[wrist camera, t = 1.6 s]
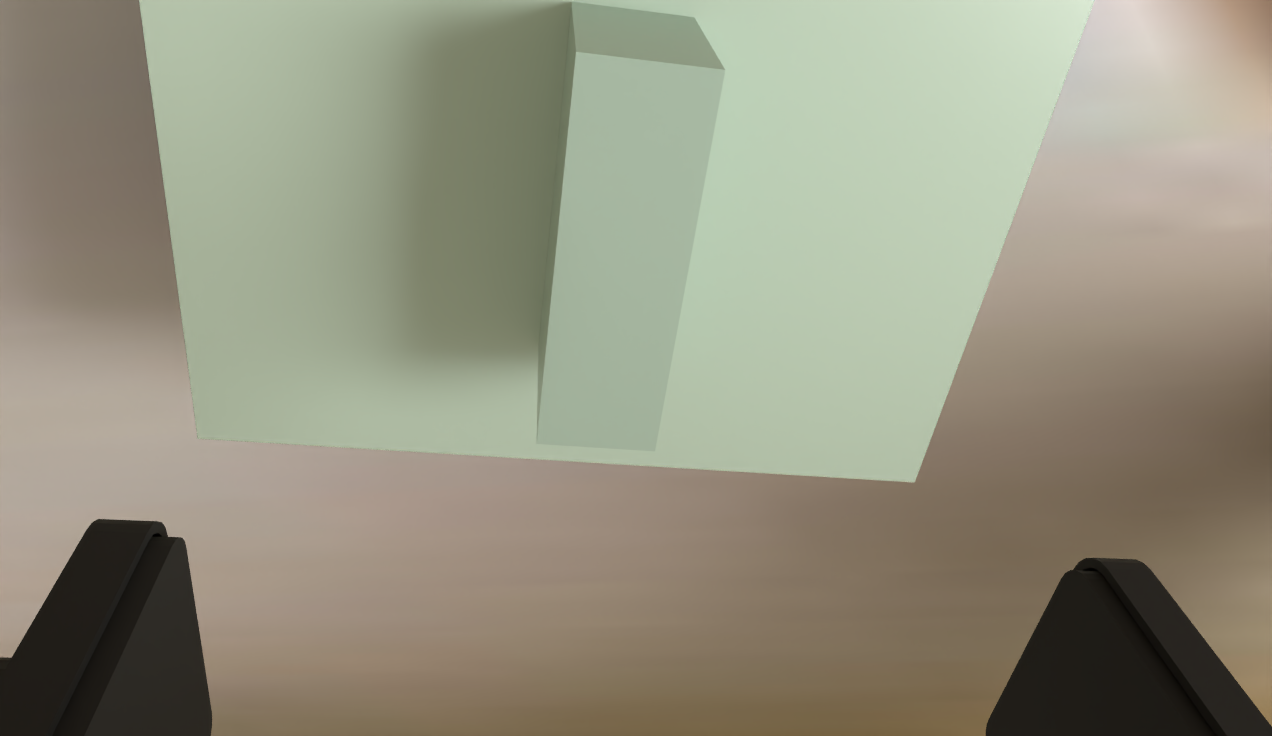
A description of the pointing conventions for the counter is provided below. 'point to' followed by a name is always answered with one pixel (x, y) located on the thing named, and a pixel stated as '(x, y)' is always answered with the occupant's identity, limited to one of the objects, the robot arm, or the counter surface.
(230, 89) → the lid
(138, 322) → the counter surface
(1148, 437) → the counter surface
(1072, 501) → the counter surface
